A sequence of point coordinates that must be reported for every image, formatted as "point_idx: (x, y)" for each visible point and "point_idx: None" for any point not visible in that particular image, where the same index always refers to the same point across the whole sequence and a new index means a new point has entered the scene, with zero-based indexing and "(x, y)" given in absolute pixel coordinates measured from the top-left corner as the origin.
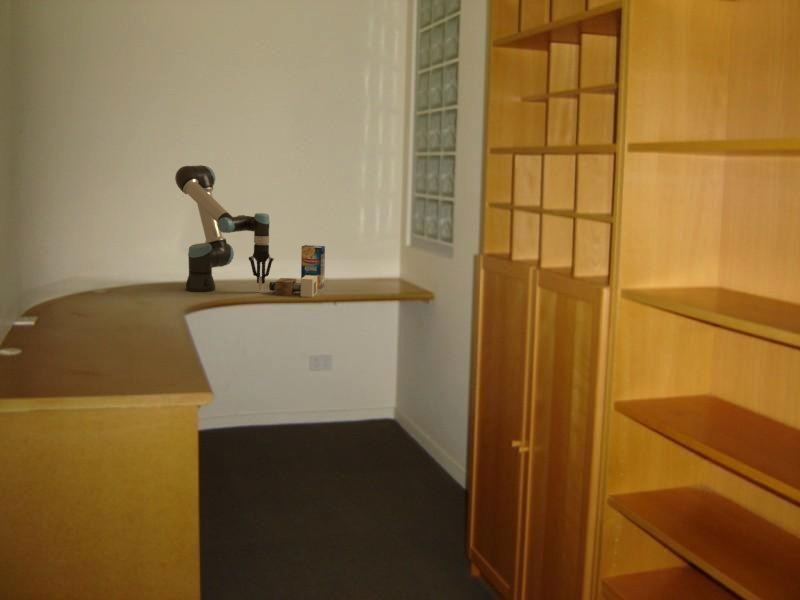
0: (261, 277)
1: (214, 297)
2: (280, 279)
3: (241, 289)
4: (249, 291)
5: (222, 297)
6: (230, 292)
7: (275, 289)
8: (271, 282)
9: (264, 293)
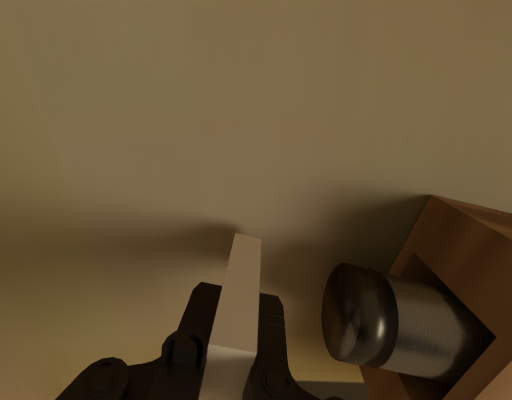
0: (236, 396)
1: (14, 381)
2: (509, 389)
3: (50, 97)
4: (150, 203)
5: (53, 382)
6: (25, 247)
7: (365, 384)
8: (360, 363)
9: (276, 282)
